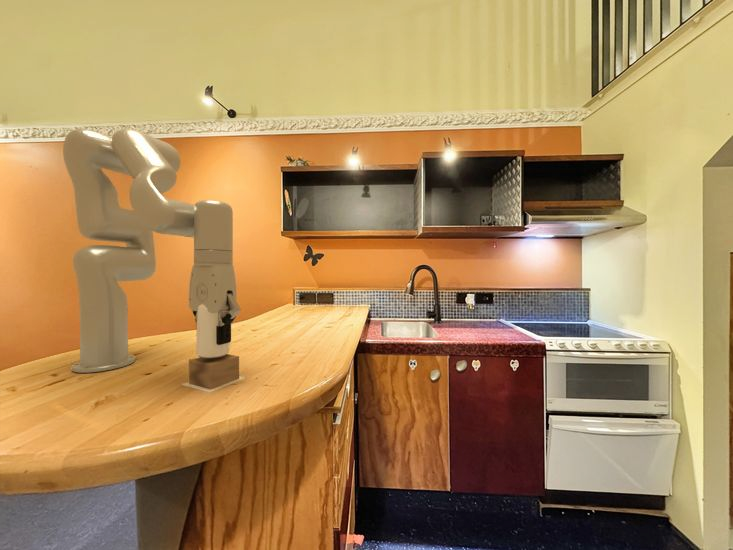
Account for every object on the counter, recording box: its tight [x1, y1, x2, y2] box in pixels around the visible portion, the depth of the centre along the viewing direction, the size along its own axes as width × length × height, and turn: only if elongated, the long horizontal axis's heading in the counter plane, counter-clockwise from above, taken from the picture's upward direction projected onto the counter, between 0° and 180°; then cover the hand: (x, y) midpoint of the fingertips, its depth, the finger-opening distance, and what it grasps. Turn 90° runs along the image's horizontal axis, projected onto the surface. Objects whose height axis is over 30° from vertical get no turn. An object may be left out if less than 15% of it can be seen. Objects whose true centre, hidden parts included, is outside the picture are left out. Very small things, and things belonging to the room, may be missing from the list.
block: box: [188, 353, 240, 390], centre depth 65 cm, size 7×7×5 cm
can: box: [195, 301, 231, 358], centre depth 65 cm, size 6×6×12 cm
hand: (213, 340), depth 65 cm, fingers closed on can, 5 cm apart
